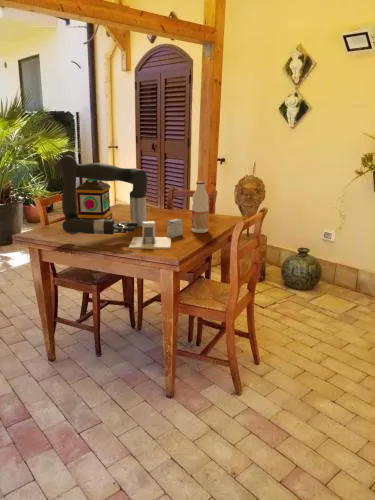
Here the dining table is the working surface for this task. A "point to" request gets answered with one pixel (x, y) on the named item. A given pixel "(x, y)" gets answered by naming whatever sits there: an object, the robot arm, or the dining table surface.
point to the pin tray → (159, 243)
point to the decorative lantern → (93, 200)
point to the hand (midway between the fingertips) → (136, 227)
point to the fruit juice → (200, 209)
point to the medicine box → (174, 228)
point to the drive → (148, 231)
